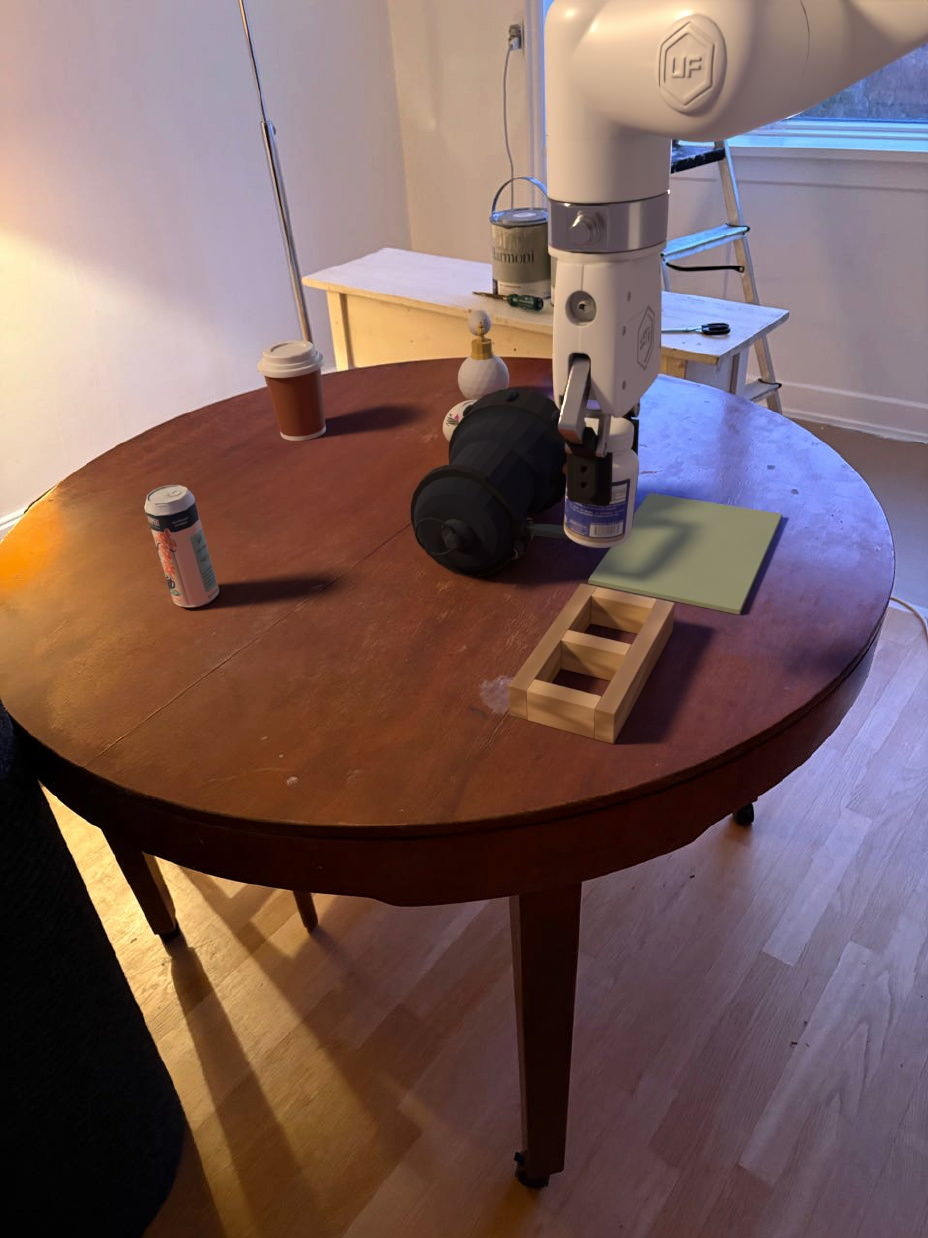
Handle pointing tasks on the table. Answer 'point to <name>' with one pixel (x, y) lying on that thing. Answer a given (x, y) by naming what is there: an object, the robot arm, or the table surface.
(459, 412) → the white rounded ceramic piece
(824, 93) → the robot arm
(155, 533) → the beer can
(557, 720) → the rack
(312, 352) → the coffee cup
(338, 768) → the table surface
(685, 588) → the mat
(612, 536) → the pill bottle
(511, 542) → the flashlight
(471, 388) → the perfume bottle
